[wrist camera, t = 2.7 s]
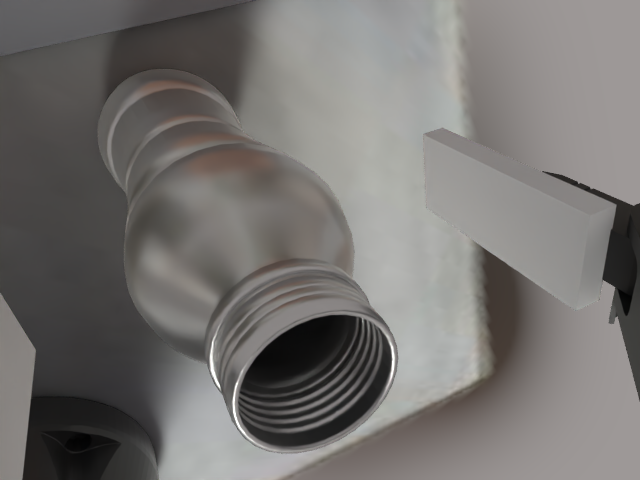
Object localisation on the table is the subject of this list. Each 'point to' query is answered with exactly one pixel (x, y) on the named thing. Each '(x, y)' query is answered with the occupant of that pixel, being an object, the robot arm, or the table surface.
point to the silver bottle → (243, 264)
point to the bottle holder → (85, 18)
